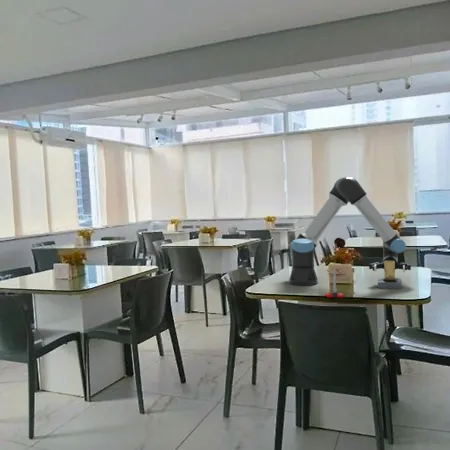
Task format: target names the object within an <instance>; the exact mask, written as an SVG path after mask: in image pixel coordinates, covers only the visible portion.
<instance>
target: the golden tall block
mask: <svg viewBox="0 0 450 450" xmlns="http://www.w3.org/2000/svg"><path fill="white" fill-rule="evenodd" d="M383 270H384V271H383V274H384V278H383V279H385V282H395V279H396V269H395V261H393V260H386V261H384V269H383Z"/></svg>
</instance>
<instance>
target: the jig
mask: <svg viewBox="0 0 450 450" xmlns="http://www.w3.org/2000/svg"><path fill="white" fill-rule="evenodd" d="M377 289H395V290H401V289H402V279H401V278H395V282H385V278H378V279H377Z"/></svg>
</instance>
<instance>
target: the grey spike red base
mask: <svg viewBox="0 0 450 450" xmlns="http://www.w3.org/2000/svg"><path fill="white" fill-rule="evenodd" d="M332 278H333V279H332V280H333V281H332V284H333V286H332V292H327V293H324V296H325V297H327V298H328V299H342V298H343V297H344V293H340V292H337V275H336V269H335V270H334V271H333V274H332Z"/></svg>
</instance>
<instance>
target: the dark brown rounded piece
mask: <svg viewBox="0 0 450 450" xmlns="http://www.w3.org/2000/svg"><path fill="white" fill-rule="evenodd" d="M333 241H334V242H333V243H334V249H335V248H337V247H340V248H344V247H345V246H346V240H345V239H343V238H341V237H336V238H335V239H334V240H333Z"/></svg>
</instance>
